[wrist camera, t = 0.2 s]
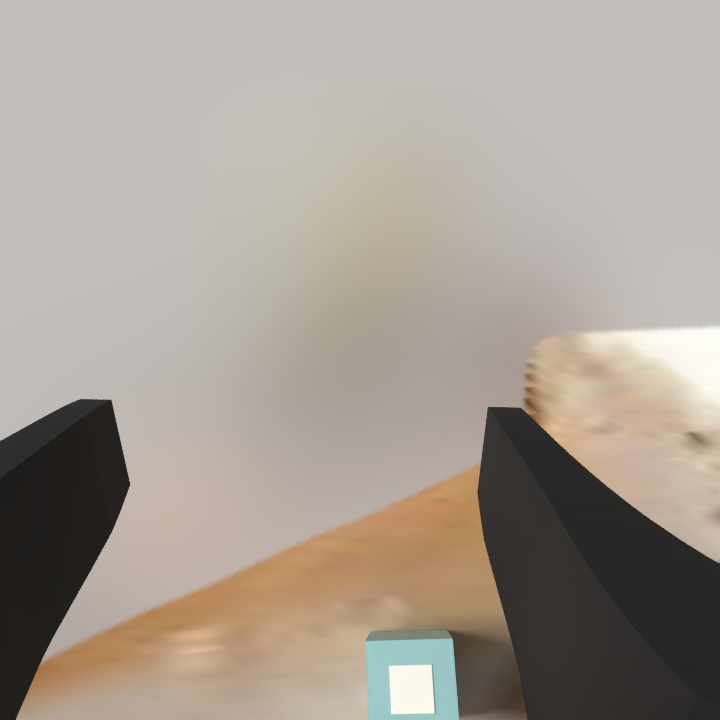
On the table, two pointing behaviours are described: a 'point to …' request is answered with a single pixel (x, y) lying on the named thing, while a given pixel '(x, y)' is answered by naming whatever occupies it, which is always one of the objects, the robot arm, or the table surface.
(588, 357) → the table surface
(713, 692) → the robot arm
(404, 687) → the letter cube
